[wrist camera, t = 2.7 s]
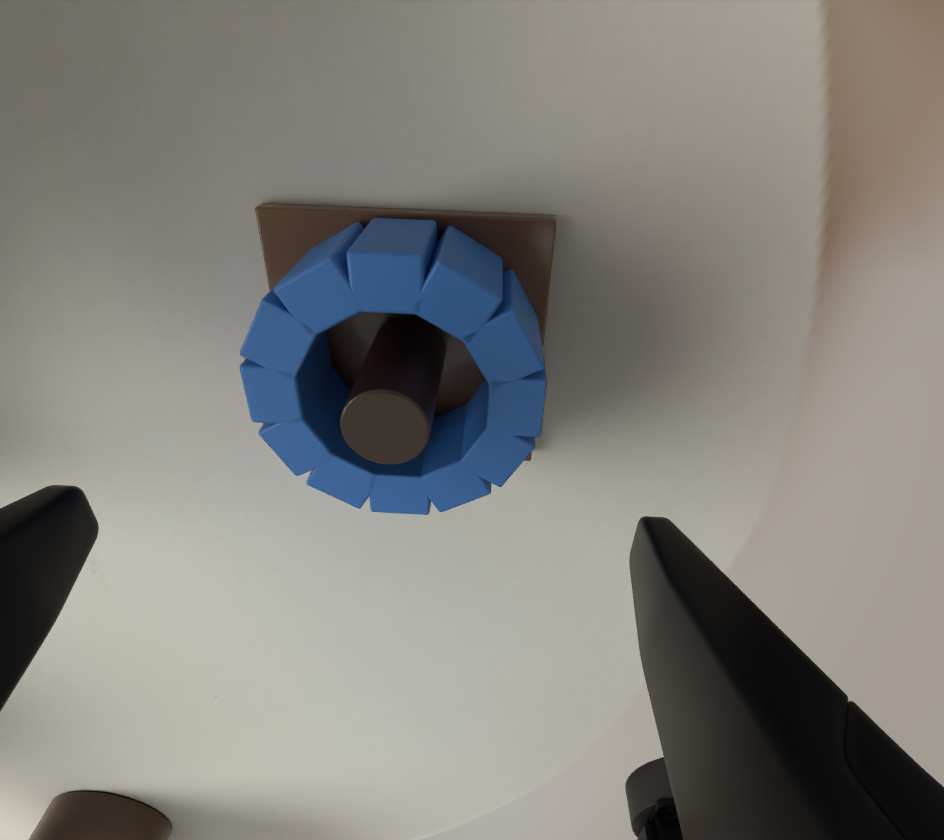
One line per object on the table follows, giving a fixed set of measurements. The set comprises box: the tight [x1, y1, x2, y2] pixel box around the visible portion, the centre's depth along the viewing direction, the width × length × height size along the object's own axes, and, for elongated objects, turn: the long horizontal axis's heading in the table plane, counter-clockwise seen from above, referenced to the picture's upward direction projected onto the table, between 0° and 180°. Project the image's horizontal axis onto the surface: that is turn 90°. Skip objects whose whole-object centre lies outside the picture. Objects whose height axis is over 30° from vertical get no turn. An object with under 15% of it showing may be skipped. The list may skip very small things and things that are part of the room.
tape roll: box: [240, 218, 547, 515], centre depth 13 cm, size 6×6×2 cm
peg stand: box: [255, 204, 556, 464], centre depth 13 cm, size 7×7×4 cm
